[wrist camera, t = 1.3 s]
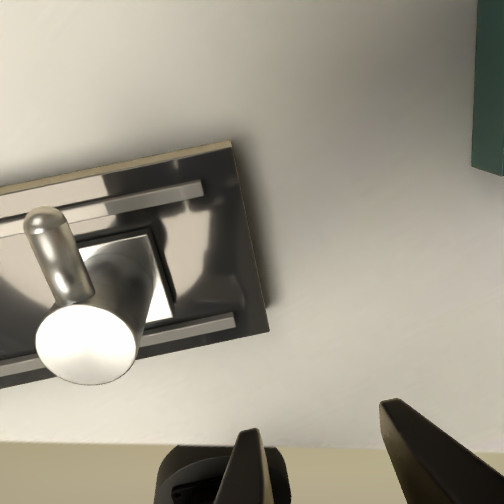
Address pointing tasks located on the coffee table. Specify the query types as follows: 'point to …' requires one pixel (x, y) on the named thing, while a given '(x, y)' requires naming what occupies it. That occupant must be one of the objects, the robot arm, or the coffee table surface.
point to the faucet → (95, 298)
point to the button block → (489, 89)
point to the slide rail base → (166, 240)
